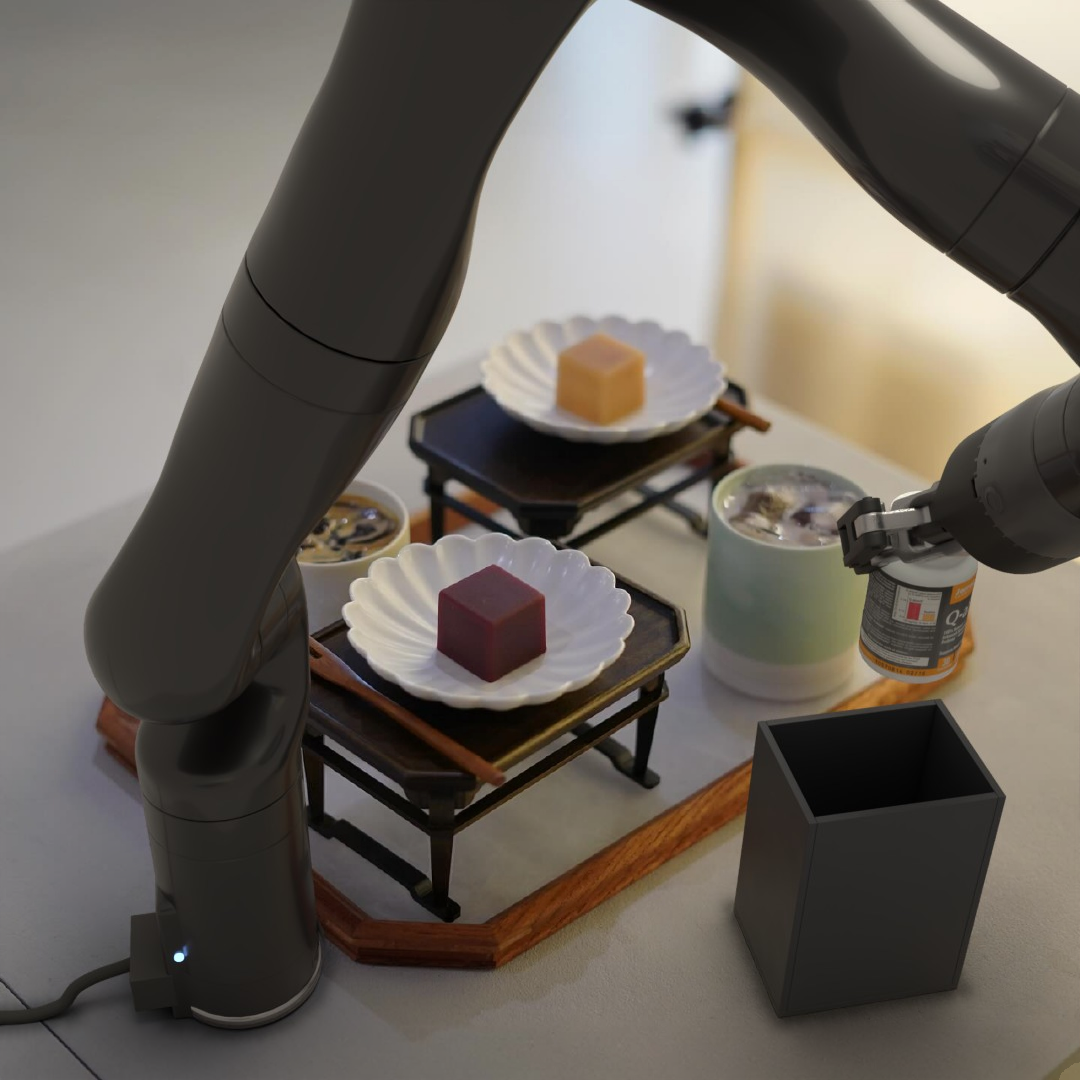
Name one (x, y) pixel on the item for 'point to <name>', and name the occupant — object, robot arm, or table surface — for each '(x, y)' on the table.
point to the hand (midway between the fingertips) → (910, 550)
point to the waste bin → (864, 854)
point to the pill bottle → (916, 616)
